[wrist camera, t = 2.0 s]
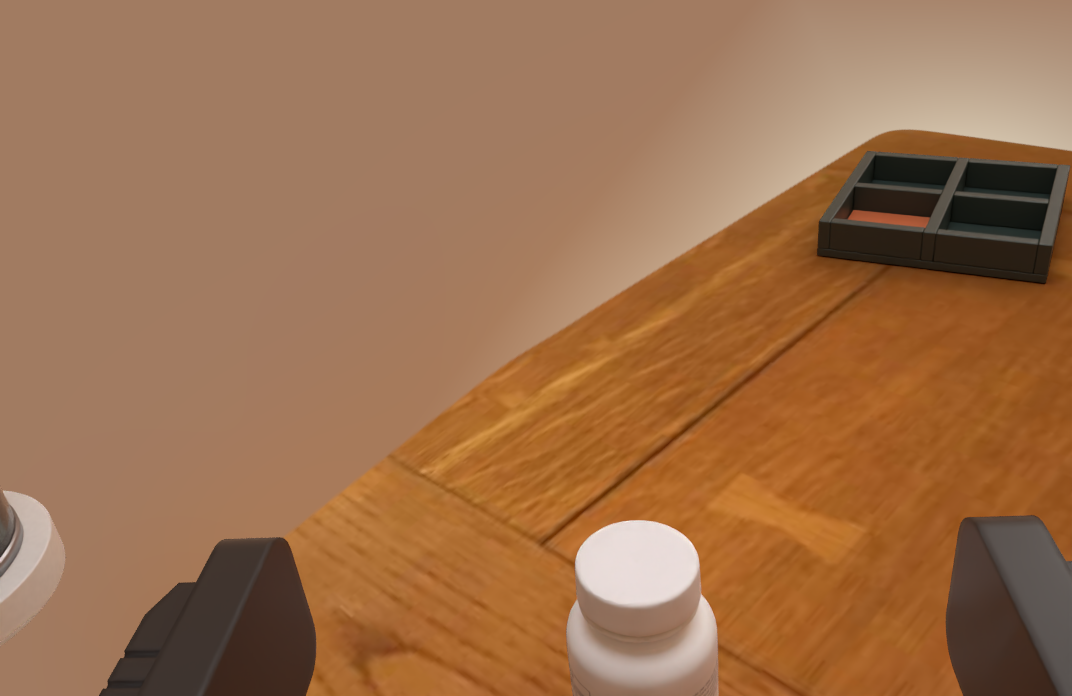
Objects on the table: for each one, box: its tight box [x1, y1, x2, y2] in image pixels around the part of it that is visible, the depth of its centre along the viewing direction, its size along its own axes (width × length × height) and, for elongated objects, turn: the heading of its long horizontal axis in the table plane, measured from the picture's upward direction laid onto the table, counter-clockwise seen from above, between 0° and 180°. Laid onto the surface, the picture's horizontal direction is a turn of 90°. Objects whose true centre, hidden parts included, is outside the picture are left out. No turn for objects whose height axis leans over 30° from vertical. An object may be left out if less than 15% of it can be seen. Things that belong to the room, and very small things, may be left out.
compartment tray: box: [817, 151, 1070, 283], centre depth 59 cm, size 12×12×2 cm
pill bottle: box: [566, 520, 718, 696], centre depth 28 cm, size 4×4×8 cm
